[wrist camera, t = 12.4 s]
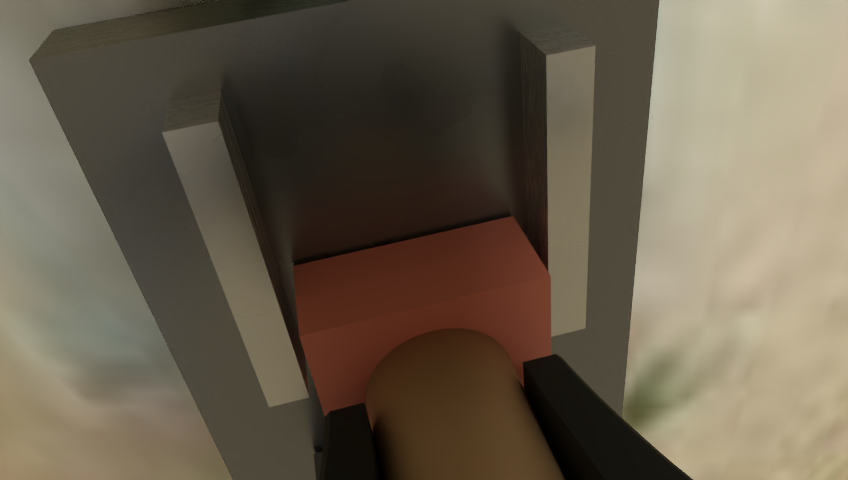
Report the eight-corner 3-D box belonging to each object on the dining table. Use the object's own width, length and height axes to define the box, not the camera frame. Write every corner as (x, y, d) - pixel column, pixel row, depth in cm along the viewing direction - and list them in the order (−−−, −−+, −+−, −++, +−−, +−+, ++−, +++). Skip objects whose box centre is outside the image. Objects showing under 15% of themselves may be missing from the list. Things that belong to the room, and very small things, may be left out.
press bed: (589, 530, 23) (624, 605, 21) (314, 608, 22) (321, 696, 20) (621, -72, 12) (706, -43, 10) (53, 29, 11) (4, 90, 9)
